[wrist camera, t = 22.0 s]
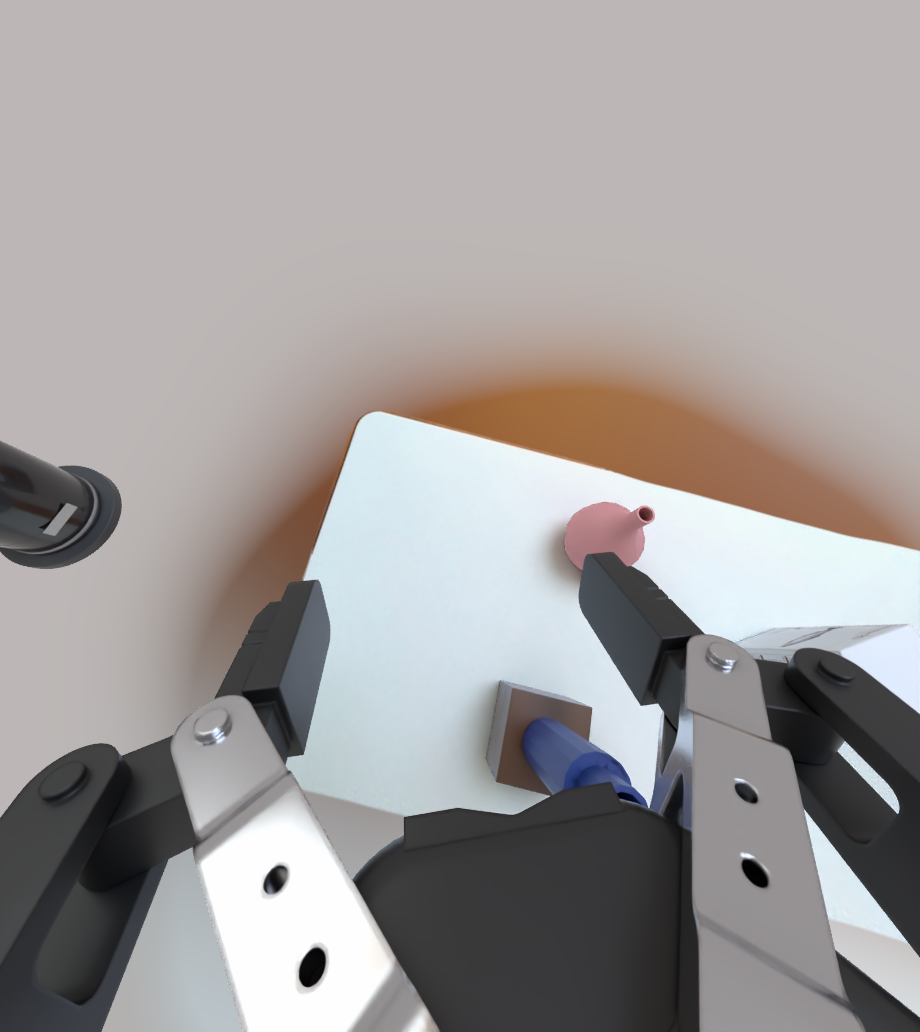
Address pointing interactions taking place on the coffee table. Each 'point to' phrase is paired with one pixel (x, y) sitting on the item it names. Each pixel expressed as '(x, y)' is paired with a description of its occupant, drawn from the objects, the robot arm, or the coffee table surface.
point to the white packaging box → (853, 651)
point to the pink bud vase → (607, 532)
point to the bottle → (572, 760)
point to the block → (511, 722)
